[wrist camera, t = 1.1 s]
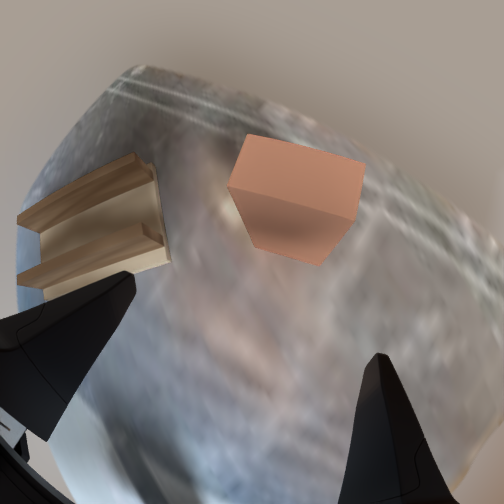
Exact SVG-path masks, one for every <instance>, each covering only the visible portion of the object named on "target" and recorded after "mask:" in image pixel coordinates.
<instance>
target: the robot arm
mask: <svg viewBox="0 0 504 504" xmlns="http://www.w3.org/2000/svg"><path fill="white" fill-rule="evenodd" d="M135 295H136V283H135V277H134V275H133V273H131V272H128V271H125V270H123V271H120V272H118V273H115V274H113V275H110V276H108V277H105V278H103V279H101V280H98V281H96V282H93V283H91V284H88V285H86V286H83V287H81V288H79V289H76V290H74V291H71V292H69V293H67V294H64V295H62V296H60V297H57V298H55V299H53V300H50V301H48V302H46V303H43V304H41V305H39V306H36V307H34V308H31V309H29V310H26V311H23V312H21V313H18V314H15V315H12V316H9V317H6V318H3V319H0V504H75V503H73V502H72V501H71V500H69V499H68V498H66V497H65V496H64V495H63V494H62V493H60V492H59V491H58V490H56V489H55V488H54V487H53V486H52V485H50V484H49V483H48V482H47V481H46V480H45V479H43V478H42V477H41V476H40V475H39V474H38V473H37V472H36V471H35V470H34V469H32V468H31V467H30V466H29V465H28V464H27V462H28V461H29V459H30V456H29V451H28V445H27V438H26V433H25V431H26V430H27V429H28V430H30V431H31V432H33V433H34V434H35V435H37V436H38V437H40V438H41V439H43V440H44V441H45V442H47V441H48V439H49V438H50V436H51V434H52V432H53V430H54V429H55V427H56V425H57V423H58V421H59V420H60V418H61V416H62V414H63V413H64V411H65V409H66V408H67V406H68V404H69V402H70V400H71V399H72V397H73V395H74V394H75V392H76V390H77V389H78V387H79V386H80V384H81V382H82V381H83V379H84V378H85V376H86V374H87V373H88V371H89V370H90V368H91V366H92V365H93V363H94V362H95V360H96V359H97V357H98V356H99V354H100V353H101V351H102V350H103V348H104V346H105V345H106V343H107V342H108V341H109V339H110V338H111V336H112V335H113V333H114V332H115V330H116V329H117V327H118V325H119V324H120V322H121V320H122V318H123V317H124V315H125V313H126V311H127V309H128V307H129V306H130V304H131V302H132V300H133V298H134V297H135ZM338 504H459V503H458V502H457V501H456V500H455V499H454V498H453V496H452V495H451V493H450V491H449V489H448V487H447V485H446V483H445V481H444V479H443V477H442V475H441V473H440V471H439V469H438V466H437V464H436V462H435V460H434V458H433V456H432V453H431V451H430V448H429V446H428V443H427V441H426V438H424V434H423V431H422V429H421V426H420V424H419V422H418V419H417V417H416V414H415V412H414V410H413V408H412V405H411V403H410V401H409V399H408V396H407V394H406V392H405V390H404V388H403V385H402V383H401V381H400V379H399V377H398V375H397V373H396V371H395V368H394V366H393V364H392V362H391V360H390V358H389V356H388V355H386V354H382V353H376V354H375V355H374V356H373V358H372V359H371V360H370V362H369V363H368V364H367V366H366V367H365V370H364V375H363V379H362V384H361V389H360V393H359V397H358V401H357V406H356V411H355V418H354V425H353V431H352V438H351V444H350V449H349V455H348V460H347V465H346V470H345V475H344V479H343V484H342V488H341V492H340V496H339V500H338Z"/></svg>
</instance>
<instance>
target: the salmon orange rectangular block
mask: <svg viewBox="0 0 504 504" xmlns="http://www.w3.org/2000/svg"><path fill="white" fill-rule="evenodd" d="M365 166H366V164H364V163H361V162H358V161H355V160H352V159H349V158H345V157H342V156H339V155H335V154H332V153H328V152H325V151H321V150H317V149H313V148H310V147H306V146H302V145H298V144H294V143H289V142H285V141H281V140H276V139H272V138H267V137H262V136H257V135H252V134H247V136H246V139H245V141H244V144H243V146H242V149H241V151H240V154H239V156H238V159H237V161H236V164H235V166H234V169H233V171H232V174H231V176H230V179H229V182H228V184H227V187H228V189H229V192H230V194H231V196H232V198H233V200H234V202H235V205H236V207H237V209H238V211H239V213H240V216H241V218H242V220H243V222H244V224H245V226H246V229H247V231H248V233H249V235H250V237H251V240H252V242H253V244H254V246H255V247H256V248H259V249H263V250H266V251H269V252H273V253H276V254H280V255H283V256H286V257H290V258H293V259H296V260H300V261H303V262H306V263H310V264H313V265H316V266H320V265H321V264H322V262H323V261H324V260H325V259H326V257H327V256H328V255H329V254H330V252H331V251H332V250H333V249H334V247H335V246H336V245H337V244H338V242H339V241H340V240H341V239H342V237H343V236H344V235H345V233H346V232H347V231H348V230H349V228H350V227H351V226H352V224H353V223H354V222H355V219H356V214H357V209H358V204H359V199H360V194H361V189H362V183H363V178H364V172H365Z"/></svg>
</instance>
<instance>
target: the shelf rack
mask: <svg viewBox="0 0 504 504" xmlns="http://www.w3.org/2000/svg"><path fill="white" fill-rule="evenodd" d="M17 225H20V226H22V227H25V228H27V229H30V230H32V231H35V232H37V233H40V251H41V264H39V265H37V266H35V267H33V268H31V269H29V270H27V271H25V272H22V273H20V274H18V275H17V285H20V286H26V287H32V288H38V289H43V293H44V300H48V301H50V300H53V299H55V298H57V297H60V296H62V295H64V294H67V293H69V292H71V291H74V290H76V289H79V288H81V287H83V286H86V285H88V284H91V283H93V282H96V281H98V280H101V279H103V278H105V277H108V276H110V275H113V274H115V273H118V272H120V271H123V270H125V271H128V272H131V273H133V274H135V273H138V272H141V271H144V270H147V269H151V268H154V267H157V266H160V265H163V264H167V263H170V262H172V261H171V257H170V252H169V246H168V241H167V236H166V230H165V225H164V219H163V213H162V207H161V201H160V195H159V188H158V181H157V174H156V167H155V166H154V164H153V163H152V162H151V163H148V164H145V163H144V162H143V161H142V160H141V159H140V158H139V157H138V155H137V154H136V153H135V152H132V153H130V154H128V155H125V156H123V157H121V158H119V159H117V160H115V161H113V162H110V163H108V164H106V165H104V166H102V167H100V168H98V169H96V170H94V171H92V172H90V173H88V174H86V175H85V176H83V177H81V178H79V179H77V180H75V181H73V182H72V183H70V184H68V185H66V186H64V187H63V188H61V189H59V190H58V191H56V192H54V193H52V194H51V195H49V196H47V197H46V198H44V199H43V200H41V201H39V202H38V203H36V204H35V205H33V206H31V207H30V208H28V209H27V210H25V211H24V212H22V213H21V214H19V215H18V216H17Z"/></svg>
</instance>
